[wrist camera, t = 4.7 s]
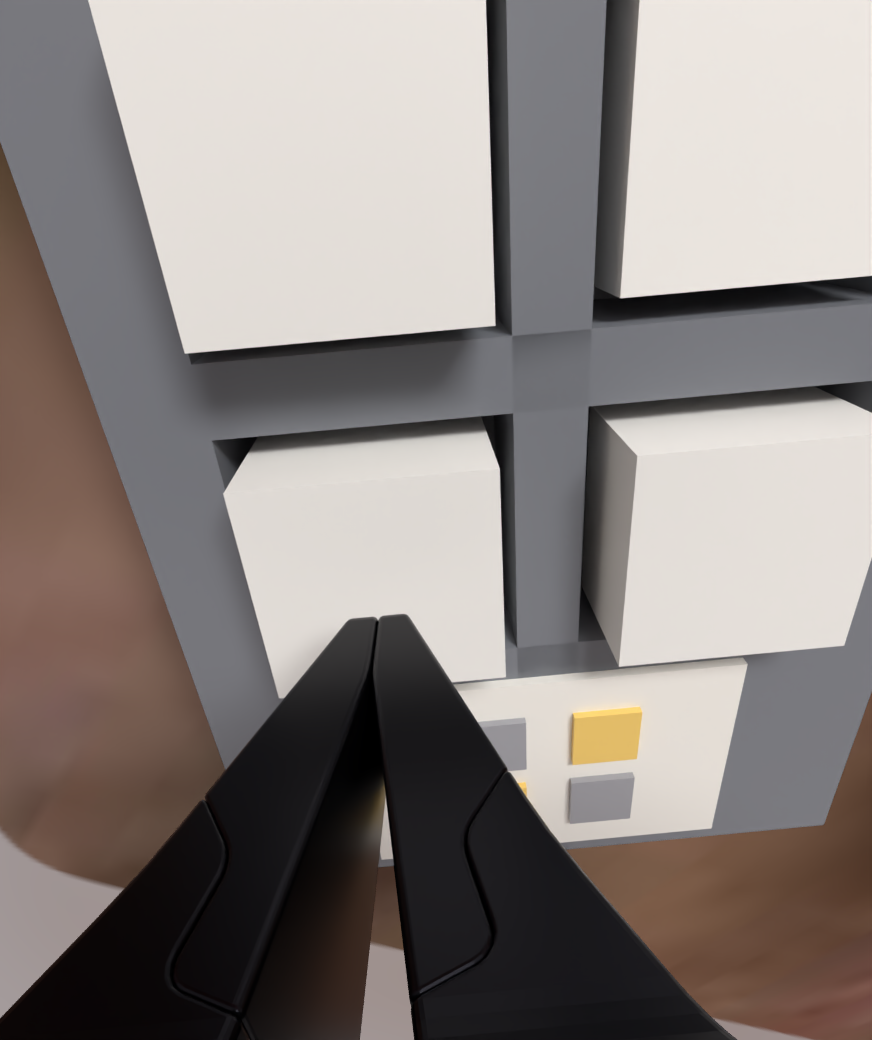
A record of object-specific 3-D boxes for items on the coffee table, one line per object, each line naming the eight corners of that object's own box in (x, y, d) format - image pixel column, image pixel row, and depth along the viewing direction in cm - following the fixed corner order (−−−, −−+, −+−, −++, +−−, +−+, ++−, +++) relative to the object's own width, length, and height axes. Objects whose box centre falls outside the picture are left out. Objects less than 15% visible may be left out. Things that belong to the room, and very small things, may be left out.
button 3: (847, -26, 9) (989, -98, 7) (793, 258, 11) (891, 273, 9) (585, -4, 9) (643, -69, 7) (576, 278, 11) (619, 297, 9)
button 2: (480, 413, 11) (499, 468, 9) (488, 594, 13) (505, 677, 11) (259, 434, 11) (223, 494, 9) (300, 611, 13) (279, 698, 11)
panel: (992, -290, 9) (1377, -610, 5) (751, 717, 18) (832, 837, 15) (13, -209, 8) (-247, -479, 5) (288, 761, 18) (261, 892, 15)
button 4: (809, 384, 11) (911, 430, 9) (768, 568, 13) (844, 645, 11) (589, 404, 11) (637, 456, 9) (581, 585, 13) (618, 666, 11)
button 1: (460, -19, 8) (482, -101, 6) (474, 297, 10) (495, 325, 8) (162, 8, 8) (71, -65, 6) (233, 319, 10) (184, 353, 8)
